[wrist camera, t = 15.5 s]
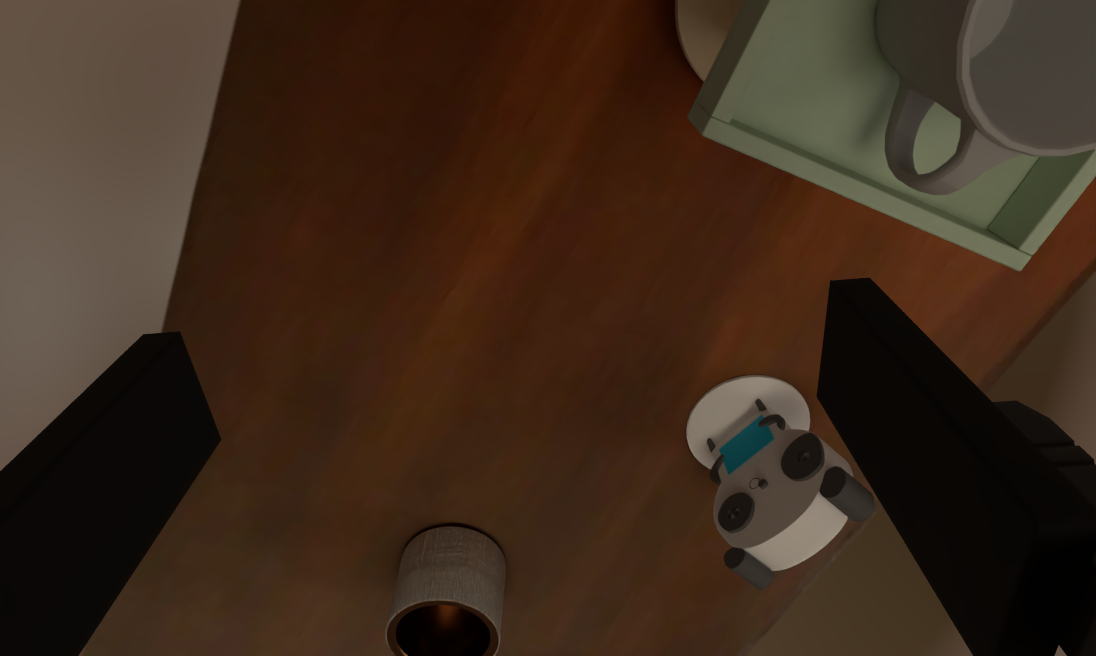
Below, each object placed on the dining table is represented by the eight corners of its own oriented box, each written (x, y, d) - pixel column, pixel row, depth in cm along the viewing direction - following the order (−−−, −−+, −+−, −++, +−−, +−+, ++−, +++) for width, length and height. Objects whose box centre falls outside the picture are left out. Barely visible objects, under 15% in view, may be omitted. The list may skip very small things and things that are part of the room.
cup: (1092, -52, 27) (1306, -52, 19) (926, 184, 31) (1047, 259, 24) (929, -147, 25) (1091, -187, 18) (779, 114, 30) (858, 171, 22)
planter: (423, 604, 77) (408, 685, 68) (386, 533, 72) (365, 611, 63) (518, 585, 75) (515, 665, 67) (488, 512, 70) (480, 589, 62)
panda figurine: (760, 347, 61) (818, 456, 48) (839, 418, 65) (914, 537, 52) (661, 430, 66) (689, 551, 52) (740, 492, 69) (786, 620, 56)
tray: (630, 54, 50) (698, 140, 28) (726, -167, 44) (914, -288, 21) (818, 137, 53) (1017, 276, 30) (933, -60, 46) (1289, -67, 24)
